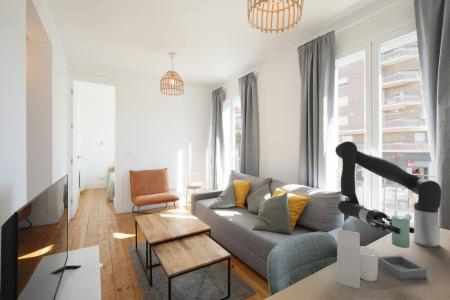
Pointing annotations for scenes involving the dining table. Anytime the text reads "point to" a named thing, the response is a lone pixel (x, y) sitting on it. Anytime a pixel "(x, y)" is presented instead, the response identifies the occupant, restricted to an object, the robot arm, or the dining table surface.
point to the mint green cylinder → (401, 231)
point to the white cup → (368, 263)
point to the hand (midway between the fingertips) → (406, 231)
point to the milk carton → (348, 258)
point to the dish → (402, 268)
